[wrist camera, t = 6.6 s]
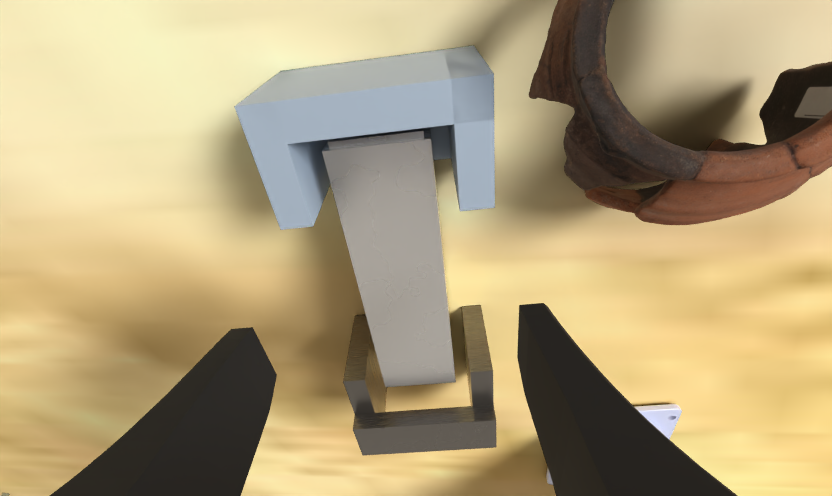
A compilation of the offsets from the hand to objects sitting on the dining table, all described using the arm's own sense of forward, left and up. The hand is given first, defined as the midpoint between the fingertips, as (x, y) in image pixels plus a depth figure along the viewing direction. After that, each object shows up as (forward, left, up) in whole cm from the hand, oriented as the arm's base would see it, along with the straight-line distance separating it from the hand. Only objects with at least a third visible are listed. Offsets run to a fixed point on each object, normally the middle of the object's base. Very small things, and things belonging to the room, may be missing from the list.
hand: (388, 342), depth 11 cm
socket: (+4, 0, -8) cm, 9 cm away
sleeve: (-9, 0, -8) cm, 12 cm away
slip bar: (-2, 0, -8) cm, 8 cm away
